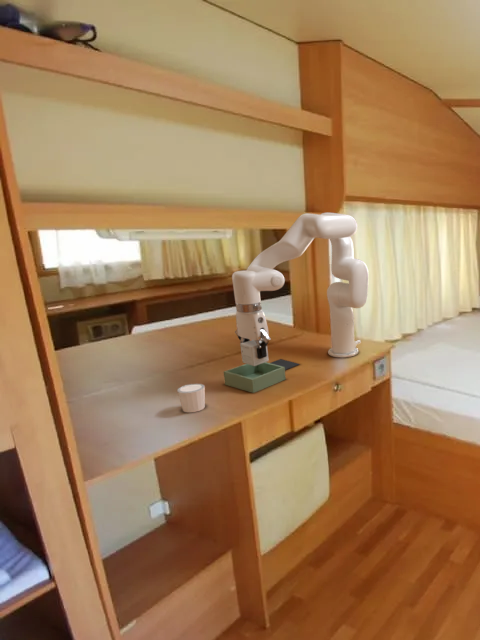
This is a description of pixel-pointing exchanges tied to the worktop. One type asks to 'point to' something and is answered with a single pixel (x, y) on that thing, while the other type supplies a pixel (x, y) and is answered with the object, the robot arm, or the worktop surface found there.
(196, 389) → the shot glass
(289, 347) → the worktop surface
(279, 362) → the mat
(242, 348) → the product box
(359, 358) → the worktop surface
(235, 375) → the green square tray
